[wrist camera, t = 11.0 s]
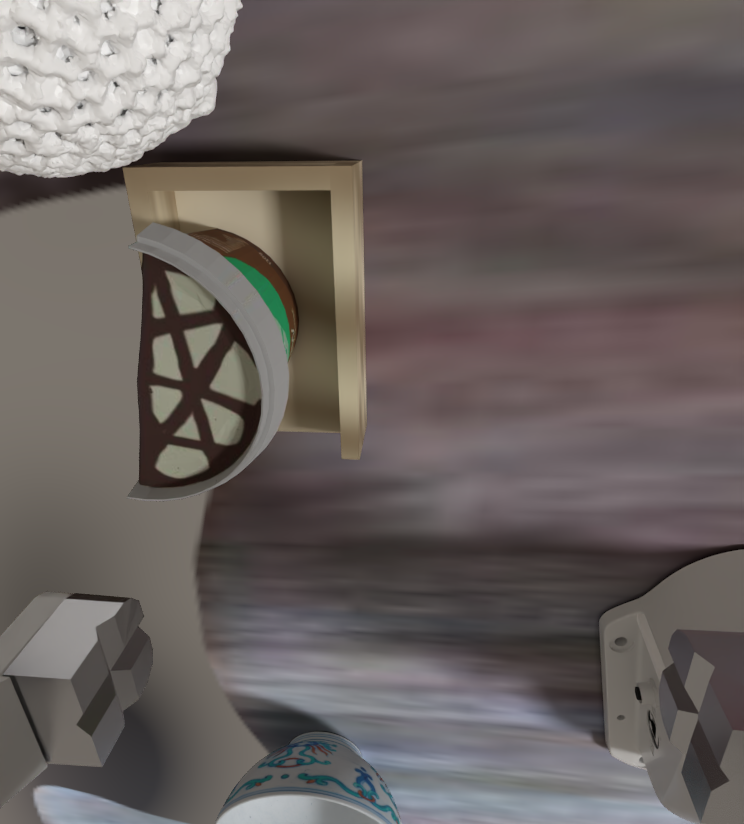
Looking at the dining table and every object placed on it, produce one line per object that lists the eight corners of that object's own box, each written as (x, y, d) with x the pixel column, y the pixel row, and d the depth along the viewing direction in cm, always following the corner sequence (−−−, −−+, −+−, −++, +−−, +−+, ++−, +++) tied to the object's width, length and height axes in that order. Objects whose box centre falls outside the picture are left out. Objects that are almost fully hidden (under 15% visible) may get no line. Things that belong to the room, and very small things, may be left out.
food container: (303, 431, 35) (260, 536, 26) (203, 410, 35) (126, 507, 26) (337, 224, 30) (298, 268, 21) (219, 198, 29) (128, 230, 21)
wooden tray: (366, 424, 36) (359, 459, 32) (201, 419, 37) (176, 453, 33) (361, 160, 29) (352, 165, 25) (160, 162, 30) (122, 167, 26)
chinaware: (425, 716, 47) (424, 817, 40) (394, 819, 54) (389, 920, 47) (244, 683, 48) (213, 778, 41) (237, 790, 54) (209, 887, 47)
